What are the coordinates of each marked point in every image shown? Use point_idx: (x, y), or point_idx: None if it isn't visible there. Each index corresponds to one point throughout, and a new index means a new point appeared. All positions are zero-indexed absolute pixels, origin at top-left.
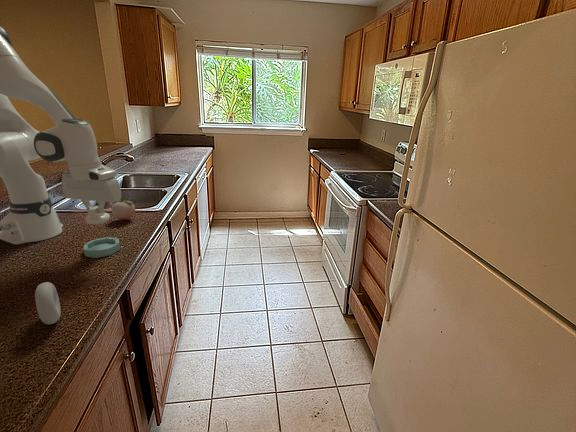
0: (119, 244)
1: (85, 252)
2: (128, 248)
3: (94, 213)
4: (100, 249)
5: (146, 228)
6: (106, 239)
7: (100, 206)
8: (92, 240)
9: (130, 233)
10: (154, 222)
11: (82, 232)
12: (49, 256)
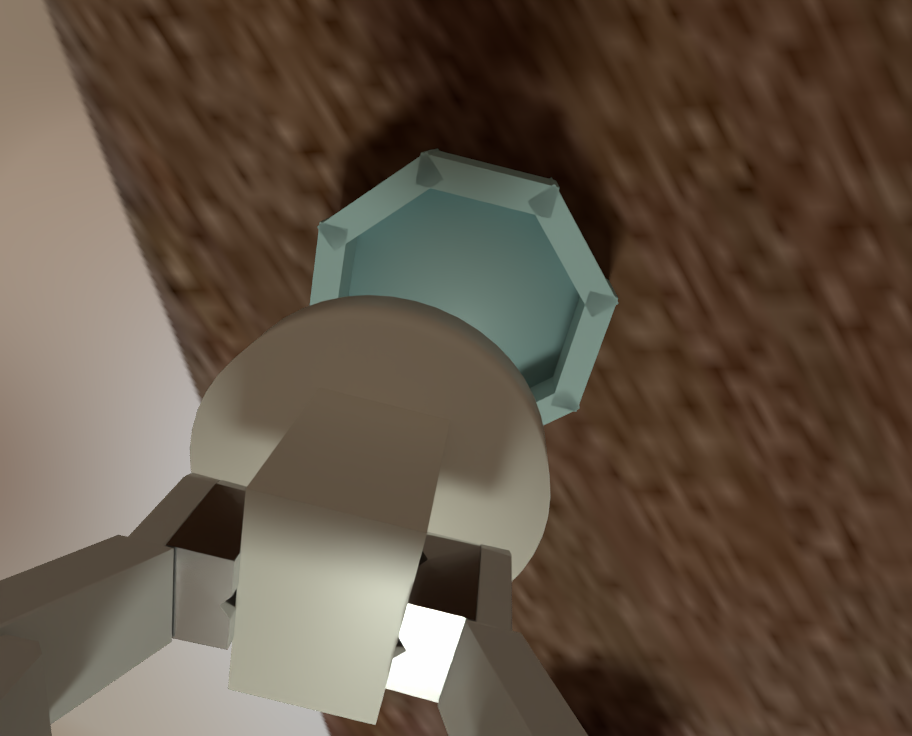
0: None
1: (543, 181)
2: None
3: (283, 447)
4: (391, 198)
5: None
6: None
7: (38, 575)
8: (582, 388)
9: None
10: (352, 722)
11: (810, 606)
12: (908, 156)
